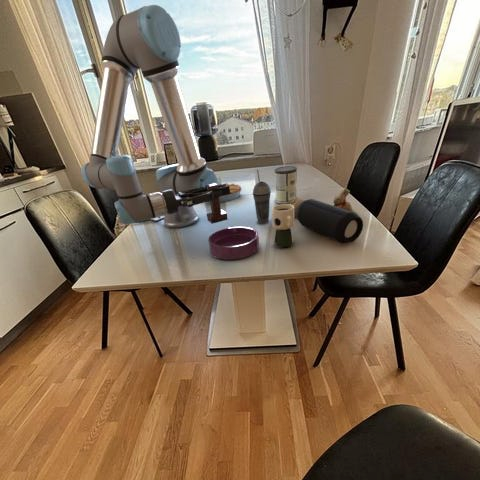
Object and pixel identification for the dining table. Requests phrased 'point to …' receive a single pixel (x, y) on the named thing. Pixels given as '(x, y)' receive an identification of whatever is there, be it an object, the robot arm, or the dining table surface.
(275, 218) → the character mug
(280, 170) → the coffee can
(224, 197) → the pie
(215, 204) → the wooden stamp
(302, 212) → the portable speaker
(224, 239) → the bowl
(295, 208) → the bread roll
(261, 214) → the beverage cup
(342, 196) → the chocolate bunny
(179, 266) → the dining table surface
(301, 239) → the dining table surface
